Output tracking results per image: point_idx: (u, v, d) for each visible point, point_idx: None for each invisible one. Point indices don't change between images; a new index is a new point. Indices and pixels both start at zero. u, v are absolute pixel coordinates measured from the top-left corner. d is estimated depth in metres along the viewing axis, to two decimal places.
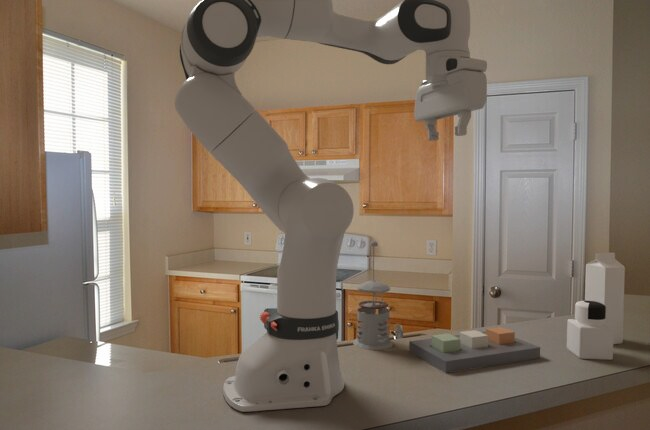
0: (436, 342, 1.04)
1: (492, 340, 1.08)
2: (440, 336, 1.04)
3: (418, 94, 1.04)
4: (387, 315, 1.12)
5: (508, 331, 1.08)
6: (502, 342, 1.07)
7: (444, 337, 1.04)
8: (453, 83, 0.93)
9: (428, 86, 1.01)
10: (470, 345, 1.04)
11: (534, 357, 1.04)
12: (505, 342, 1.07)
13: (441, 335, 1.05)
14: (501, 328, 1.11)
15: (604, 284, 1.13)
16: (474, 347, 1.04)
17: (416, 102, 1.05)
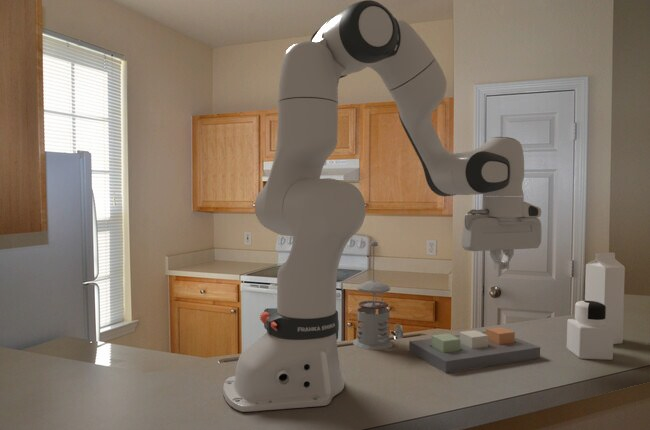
0: (436, 342, 1.04)
1: (492, 340, 1.08)
2: (440, 336, 1.04)
3: (479, 225, 1.04)
4: (387, 315, 1.12)
5: (508, 331, 1.08)
6: (502, 342, 1.07)
7: (444, 337, 1.04)
8: (522, 225, 1.08)
9: (492, 220, 1.05)
10: (470, 345, 1.04)
11: (534, 357, 1.04)
12: (505, 342, 1.07)
13: (441, 335, 1.05)
14: (501, 328, 1.11)
15: (604, 284, 1.13)
16: (474, 347, 1.04)
17: (476, 232, 1.03)
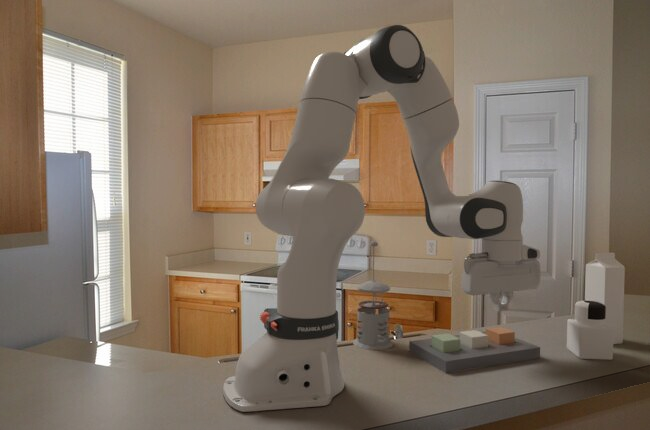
0: (436, 342, 1.04)
1: (492, 340, 1.08)
2: (440, 336, 1.04)
3: (478, 269, 1.04)
4: (387, 315, 1.12)
5: (508, 331, 1.08)
6: (502, 342, 1.07)
7: (444, 337, 1.04)
8: (521, 267, 1.09)
9: (492, 264, 1.05)
10: (470, 345, 1.04)
11: (534, 357, 1.04)
12: (505, 342, 1.07)
13: (441, 335, 1.05)
14: (501, 328, 1.11)
15: (604, 284, 1.13)
16: (474, 347, 1.04)
17: (475, 277, 1.04)
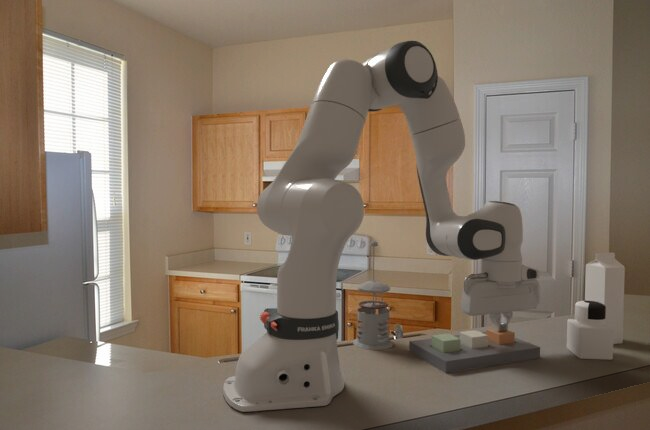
0: (436, 342, 1.04)
1: (492, 341, 1.09)
2: (440, 336, 1.04)
3: (478, 290, 1.04)
4: (387, 315, 1.12)
5: (508, 332, 1.08)
6: (502, 343, 1.07)
7: (444, 337, 1.04)
8: (521, 287, 1.09)
9: (491, 284, 1.06)
10: (470, 345, 1.04)
11: (534, 357, 1.04)
12: (505, 343, 1.07)
13: (441, 335, 1.05)
14: None
15: (604, 284, 1.13)
16: (474, 347, 1.04)
17: (475, 297, 1.04)
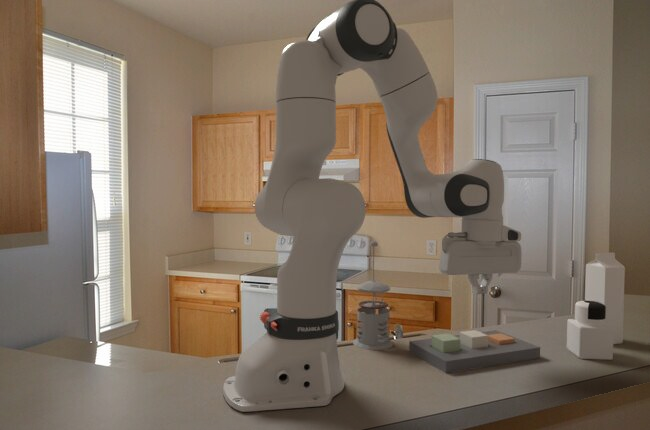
0: (436, 342, 1.04)
1: None
2: (440, 336, 1.04)
3: (456, 248, 1.02)
4: (387, 315, 1.12)
5: (508, 338, 1.08)
6: None
7: (444, 337, 1.04)
8: (502, 249, 1.06)
9: (470, 244, 1.03)
10: (470, 345, 1.04)
11: (534, 357, 1.04)
12: None
13: (441, 335, 1.05)
14: (501, 334, 1.11)
15: (604, 284, 1.13)
16: (474, 347, 1.04)
17: (453, 256, 1.01)
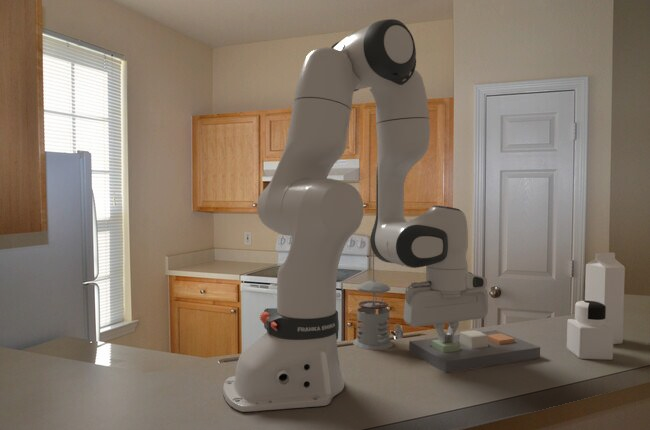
0: (436, 347, 1.04)
1: None
2: None
3: (419, 300, 0.99)
4: (387, 315, 1.12)
5: (508, 338, 1.08)
6: None
7: None
8: (467, 296, 1.04)
9: (434, 293, 1.00)
10: (470, 345, 1.04)
11: (534, 357, 1.04)
12: None
13: None
14: (501, 334, 1.11)
15: (604, 284, 1.13)
16: (474, 347, 1.04)
17: (416, 308, 0.99)
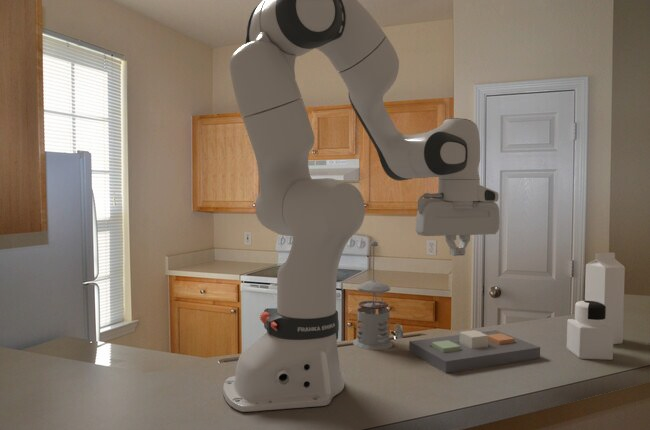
0: (436, 349, 1.04)
1: None
2: (440, 343, 1.04)
3: (432, 209, 1.00)
4: (387, 315, 1.12)
5: (508, 338, 1.08)
6: None
7: (444, 344, 1.04)
8: (479, 210, 1.05)
9: (446, 204, 1.02)
10: (470, 345, 1.04)
11: (534, 357, 1.04)
12: None
13: (441, 342, 1.05)
14: (501, 334, 1.11)
15: (604, 284, 1.13)
16: (474, 347, 1.04)
17: (428, 216, 1.00)
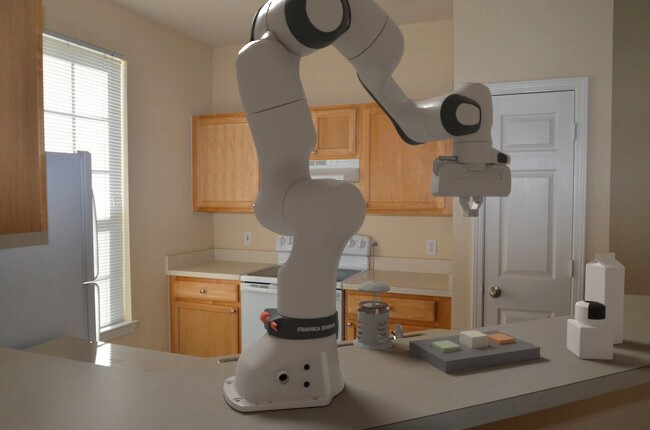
0: (436, 349, 1.04)
1: None
2: (440, 343, 1.04)
3: (447, 170, 1.03)
4: (387, 315, 1.12)
5: (508, 338, 1.08)
6: None
7: (444, 344, 1.04)
8: (492, 172, 1.08)
9: (461, 166, 1.05)
10: (470, 345, 1.04)
11: (534, 357, 1.04)
12: None
13: (441, 342, 1.05)
14: (501, 334, 1.11)
15: (604, 284, 1.13)
16: (474, 347, 1.04)
17: (443, 177, 1.03)
